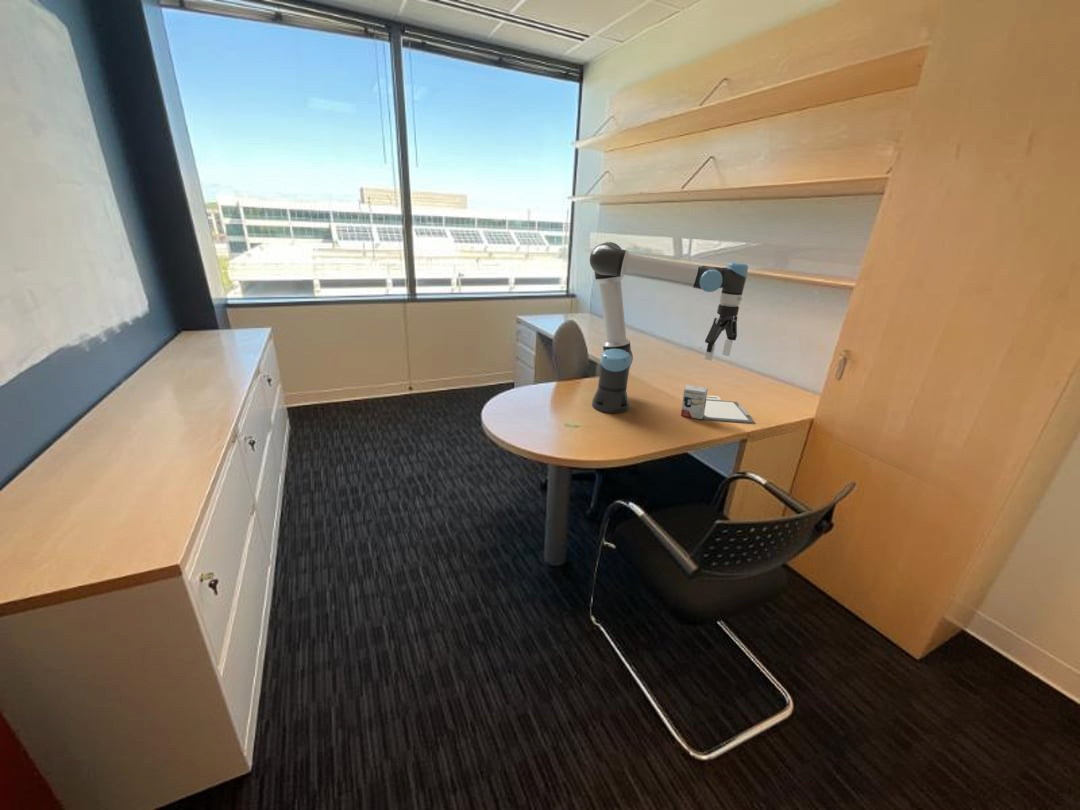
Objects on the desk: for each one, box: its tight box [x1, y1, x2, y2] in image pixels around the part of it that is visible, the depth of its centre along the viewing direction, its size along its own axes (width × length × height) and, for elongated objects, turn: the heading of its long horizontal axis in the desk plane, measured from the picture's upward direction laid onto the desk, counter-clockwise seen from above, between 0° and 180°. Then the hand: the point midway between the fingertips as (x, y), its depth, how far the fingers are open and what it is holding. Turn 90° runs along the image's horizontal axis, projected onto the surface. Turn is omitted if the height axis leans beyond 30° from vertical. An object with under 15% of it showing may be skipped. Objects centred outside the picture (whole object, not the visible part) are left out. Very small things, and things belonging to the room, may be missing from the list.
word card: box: [706, 394, 723, 401], centre depth 200 cm, size 8×5×1 cm, turn 86°
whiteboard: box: [703, 400, 756, 424], centre depth 186 cm, size 20×22×1 cm
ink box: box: [680, 385, 709, 420], centre depth 177 cm, size 9×5×12 cm, turn 62°
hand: (717, 357), depth 179 cm, fingers open, 13 cm apart
